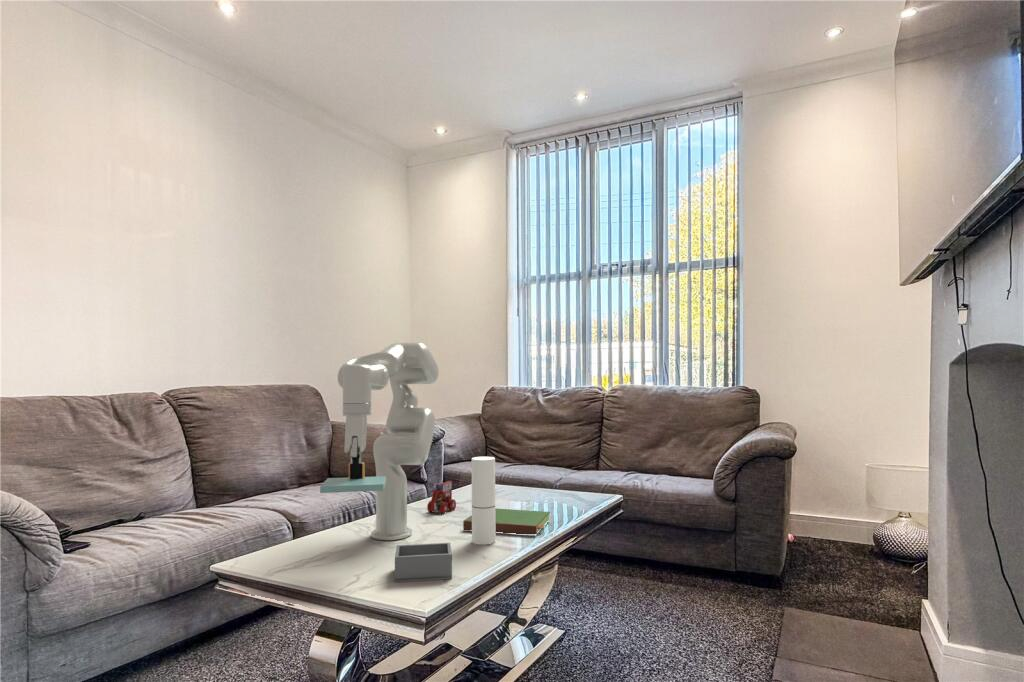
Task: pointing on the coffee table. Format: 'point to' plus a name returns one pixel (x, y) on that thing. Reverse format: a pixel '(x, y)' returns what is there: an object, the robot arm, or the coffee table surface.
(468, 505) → the coffee table surface
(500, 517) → the hardcover book
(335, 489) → the lid
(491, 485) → the cylindrical container
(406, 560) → the tub
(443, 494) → the toy fire truck
